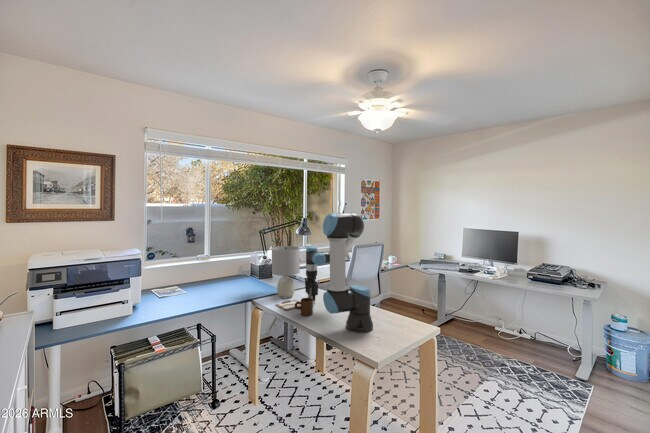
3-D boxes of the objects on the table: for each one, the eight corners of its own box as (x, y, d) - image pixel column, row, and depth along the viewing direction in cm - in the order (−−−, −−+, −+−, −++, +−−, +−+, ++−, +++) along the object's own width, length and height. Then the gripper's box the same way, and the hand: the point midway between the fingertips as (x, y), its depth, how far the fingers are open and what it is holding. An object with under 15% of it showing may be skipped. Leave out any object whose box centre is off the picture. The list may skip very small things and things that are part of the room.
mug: (297, 318, 190) (297, 303, 189) (292, 314, 196) (292, 299, 196) (314, 315, 196) (314, 300, 195) (309, 311, 202) (309, 296, 202)
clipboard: (306, 305, 213) (306, 303, 212) (285, 311, 202) (285, 308, 202) (295, 300, 223) (295, 298, 222) (275, 305, 212) (275, 303, 212)
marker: (314, 306, 211) (314, 289, 210) (311, 307, 209) (311, 289, 208) (311, 305, 213) (312, 288, 212) (308, 306, 211) (308, 288, 211)
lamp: (301, 292, 241) (301, 245, 239) (296, 301, 221) (296, 249, 219) (276, 292, 243) (275, 244, 241) (268, 300, 223) (268, 249, 221)
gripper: (323, 271, 206) (323, 306, 207) (309, 267, 218) (308, 300, 220) (314, 272, 201) (314, 308, 202) (300, 268, 213) (300, 302, 215)
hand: (311, 304), depth 211 cm, fingers closed on marker, 3 cm apart
